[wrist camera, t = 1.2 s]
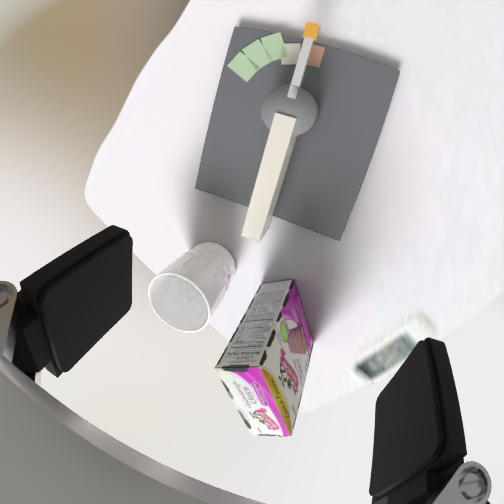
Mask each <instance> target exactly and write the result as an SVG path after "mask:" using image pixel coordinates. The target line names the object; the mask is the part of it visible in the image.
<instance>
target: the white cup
mask: <svg viewBox="0 0 504 504" xmlns="http://www.w3.org/2000/svg"><path fill="white" fill-rule="evenodd" d="M235 272H236V267H235V262H234V259H233V257H232V256H231V254H230V253H229V251H228V250H227V249H225V248H224V247H222V246H221V245H219V244H218V243H212V242H204V243H200V244H198V245H196V246H195V247H194V248H192V249H191V250H190V251H188V252H186V253H185V254H183V255H182V256H181V257H179V258H178V259H177V260H175V261H174V262H173V263H171V264H170V265H169V266H168V267H166V268H165V269H164V270H163V271H161V272H160V273H159V274H158V275H156V276H155V277H154V278H153V279H152V281H151V282H150V284H149V288H148V296H149V300H150V303H151V305H152V308H153V310H154V311H155V313H156V314H157V315H158V316H159V317H160V318H161V320H163V321H164V322H165V323H166V324H168V325H169V326H171V327H172V328H174V329H176V330H179V331H182V332H197V331H200V330H201V329H203V328H205V327H206V325H207V324H208V322H209V321H210V319H211V317H212V316H213V314H214V312H215V311H216V309H217V307H218V306H219V304H220V302H221V301H222V299H223V297H224V295H225V293H226V292H227V290H228V288H229V285H230V284H231V282H232V280H233V278H234V275H235Z"/></svg>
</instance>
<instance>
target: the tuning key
mask: <svg viewBox="0 0 504 504" xmlns="http://www.w3.org/2000/svg"><path fill="white" fill-rule="evenodd" d="M319 30H320V25H318V24H314V23H310V22H307V23H306V26H305V29H304V33H303V38H304V41H303V44H302V47H301V51H300V54H299V58H298V61H297V64H296V68H295V71H294V75H293V78H292V81H291V85H289V84H286V85H280V86H277V87H275V88H273V89H271V90H270V91H269V92H268V93H267V94H266V96H265V97H264V99H263V101H262V105H261V116H262V119H263V121H264V123H265V125H266V126H267V127H268V129H270V133H269V136H268V140H267V143H266V147H265V150H264V154H263V158H262V161H261V165H260V168H259V172H258V175H257V179H256V183H255V186H254V190H253V194H252V197H251V201H250V205H249V208H248V212H247V216H246V219H245V223H244V227H243V230H242V234H241V236H243V237H246V238H249V239H251V240H254V241H257V242H260V240H261V239H262V237H263V236H264V235H265V233H266V232H267V230H268V229H269V226H270V223H271V220H272V216H273V213H274V210H275V207H276V203H277V200H278V197H279V194H280V190H281V187H282V184H283V181H284V177H285V174H286V171H287V168H288V164H289V161H290V158H291V155H292V151H293V148H294V145H295V141H296V138H297V136H298V135H300V134H303V133H305V132H307V131H309V130H310V129H312V128H313V127H314V125H315V124H316V122H317V120H318V117H319V107H318V104H317V101H316V100H315V98H314V97H313V96H312V95H311V94H310V93H309V92H307V91H305V90H304V89H302V88H300V86H301V83H302V79H303V76H304V73H305V69H306V66H307V62H308V59H309V56H310V52H311V49H312V46H313V42H314V41H316V40H317V37H318V33H319Z"/></svg>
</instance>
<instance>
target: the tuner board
mask: <svg viewBox="0 0 504 504" xmlns="http://www.w3.org/2000/svg"><path fill="white" fill-rule="evenodd" d="M303 41H304V39H299V38H295V37H291V36H286V35H282V34H281V32H278V33H272V32H267V31H261V30H256V29H250V28H243V27H236V26H235V27H234V31H233V34H232V38H231V41H230V45H229V48H228V52H227V55H226V59H225V63H224V66H223V70H222V74H221V78H220V81H219V85H218V89H217V93H216V97H215V101H214V105H213V109H212V113H211V118H210V122H209V126H208V131H207V135H206V139H205V144H204V148H203V153H202V158H201V162H200V167H199V172H198V177H197V182H196V187H195V188H196V189H199V190H202V191H205V192H208V193H210V194H213V195H216V196H219V197H222V198H225V199H228V200H231V201H233V202H236V203H239V204H242V205H245V206H248V207H249V205H250V201H251V197H252V194H253V190H254V186H255V183H256V179H257V175H258V172H259V168H260V165H261V161H262V158H263V154H264V150H265V147H266V143H267V140H268V136H269V133H270V129H268V127H267V126H266V125H265V123H264V121H263V119H262V116H261V105H262V101H263V99H264V97H265V96H266V94H267V93H268V92H269V91H270V90H271V89H273V88H275V87H277V86H280V85H286V84H289V85H291V81H292V78H293V75H294V71H295V68H296V64H297V61H298V58H299V54H300V51H301V47H302V44H303ZM399 73H400V71H398V70H395V69H393V68H390V67H388V66H385V65H383V64H380V63H378V62H375V61H372V60H370V59H367V58H364V57H361V56H358V55H355V54H352V53H349V52H346V51H343V50H340V49H336V48H333V47H330V46H326V45H323V44H319V43H315V42H313V46H312V49H311V52H310V56H309V59H308V62H307V66H306V69H305V73H304V76H303V79H302V83H301V86H300V88H302V89H304V90H305V91H307V92H309V93H310V94H311V95H312V96H313V97H314V98H315V100H316V101H317V104H318V107H319V117H318V120H317V122H316V124H315V125H314V127H313V128H312V129H310V130H309V131H307V132H305V133H303V134H300V135H298V136H297V138H296V141H295V145H294V148H293V151H292V155H291V158H290V161H289V164H288V168H287V171H286V174H285V177H284V181H283V184H282V187H281V190H280V194H279V197H278V200H277V203H276V207H275V210H274V213H273V216H275V217H278V218H281V219H283V220H286V221H289V222H291V223H294V224H297V225H299V226H302V227H305V228H307V229H310V230H312V231H315V232H318V233H320V234H323V235H326V236H328V237H331V238H333V239H336V240H338V241H340V238H341V236H342V233H343V231H344V229H345V226H346V224H347V221H348V219H349V216H350V214H351V211H352V209H353V206H354V204H355V201H356V199H357V196H358V194H359V191H360V188H361V186H362V183H363V180H364V178H365V175H366V172H367V170H368V167H369V164H370V161H371V159H372V156H373V153H374V150H375V147H376V145H377V142H378V139H379V136H380V133H381V130H382V127H383V124H384V121H385V118H386V115H387V112H388V109H389V106H390V103H391V99H392V96H393V93H394V90H395V86H396V83H397V80H398V76H399Z"/></svg>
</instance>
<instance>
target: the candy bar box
mask: <svg viewBox="0 0 504 504" xmlns="http://www.w3.org/2000/svg"><path fill="white" fill-rule="evenodd" d="M313 344H314V343H313V340H312V337H311V333H310V330H309V327H308V324H307V321H306V317H305V314H304V311H303V308H302V304H301V301H300V298H299V294H298V291H297V288H296V285H295V282H294V279H289V280H283V281H279V282H271V283H264V284H261V285H260V287H259V289H258V291H257V292H256V294H255V296H254V298H253V300H252V302H251V304H250V305H249V307H248V309H247V311H246V313H245V314H244V316H243V318H242V320H241V322H240V324H239V325H238V327H237V329H236V331H235V333H234V334H233V336H232V338H231V340H230V342H229V344H228V345H227V347H226V349H225V351H224V353H223V354H222V356H221V358H220V360H219V361H218V363H217V365H216V366H215V369H216V372H217V374H218V375H219V377H220V379H221V381H222V383H223V385H224V386H225V388H226V390H227V392H228V394H229V396H230V397H231V399H232V401H233V403H234V404H235V406H236V408H237V410H238V412H239V413H240V415H241V417H242V418H243V420H244V422H245V424H246V425H247V427H248V429H249V430H250V432H251V434H252V435H267V436H276V435H277V436H280V437H284V436H291V435H292V431H293V428H294V424H295V420H296V416H297V412H298V409H299V405H300V401H301V396H302V392H303V387H304V383H305V379H306V375H307V370H308V366H309V362H310V357H311V353H312V348H313Z"/></svg>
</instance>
